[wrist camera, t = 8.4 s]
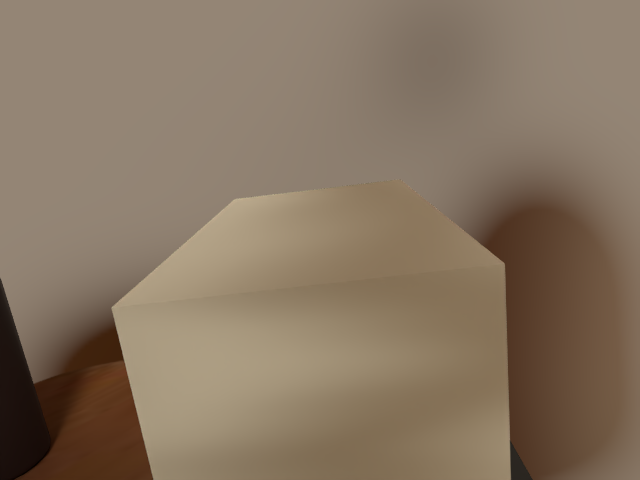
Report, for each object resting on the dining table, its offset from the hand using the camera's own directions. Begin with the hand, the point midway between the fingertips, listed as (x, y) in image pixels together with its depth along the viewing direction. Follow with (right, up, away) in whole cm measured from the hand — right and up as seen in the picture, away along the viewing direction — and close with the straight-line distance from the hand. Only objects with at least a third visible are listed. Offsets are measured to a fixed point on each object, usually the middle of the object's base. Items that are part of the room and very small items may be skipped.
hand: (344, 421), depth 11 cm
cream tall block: (+1, -7, -1) cm, 7 cm away
